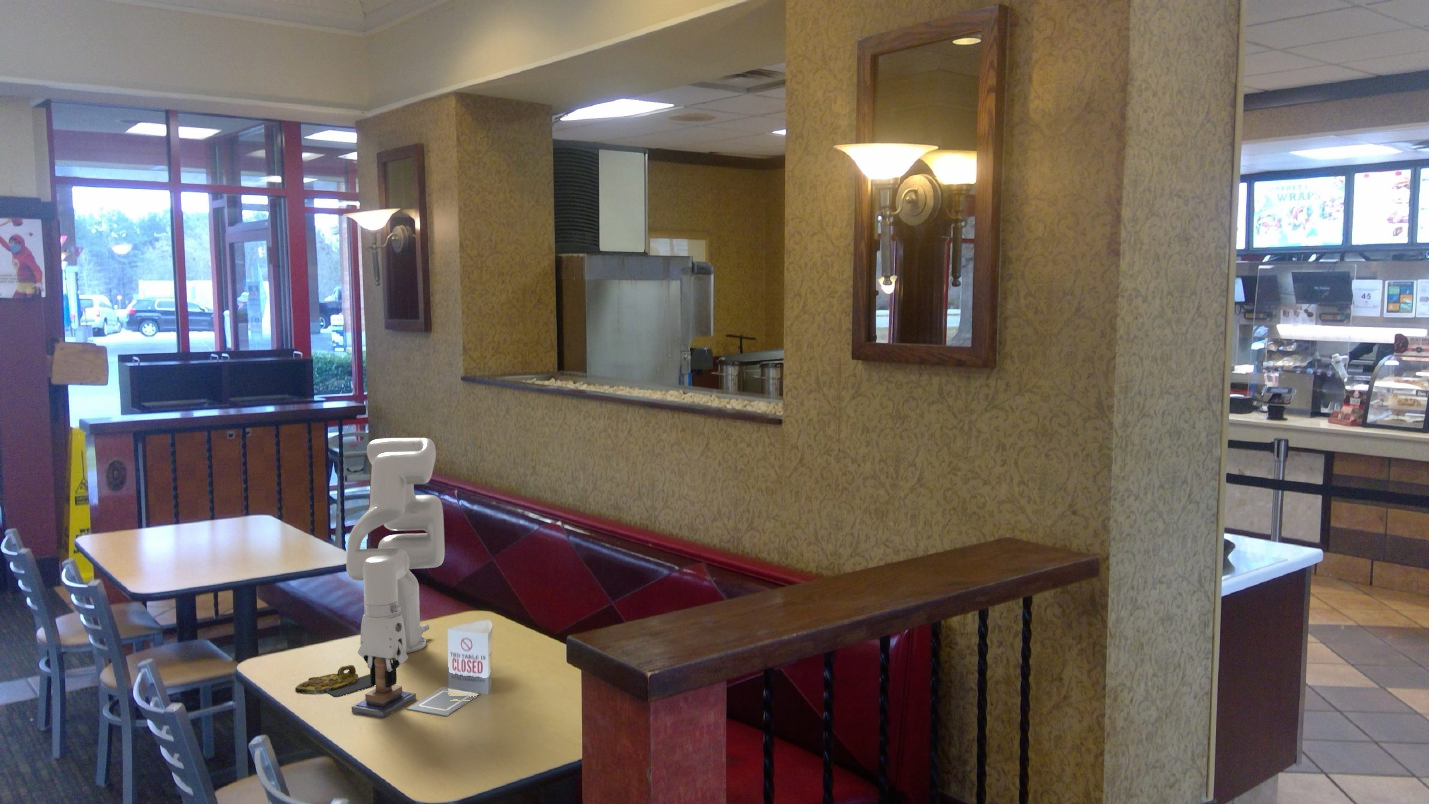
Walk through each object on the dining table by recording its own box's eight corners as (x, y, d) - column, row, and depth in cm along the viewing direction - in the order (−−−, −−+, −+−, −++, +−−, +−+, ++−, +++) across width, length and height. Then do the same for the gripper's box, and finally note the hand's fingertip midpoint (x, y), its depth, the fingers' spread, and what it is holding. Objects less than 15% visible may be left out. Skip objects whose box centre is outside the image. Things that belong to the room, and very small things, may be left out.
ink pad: (385, 693, 246) (385, 687, 246) (416, 698, 243) (415, 692, 243) (351, 712, 235) (351, 705, 235) (383, 718, 232) (383, 711, 231)
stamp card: (443, 688, 250) (443, 686, 249) (481, 694, 246) (480, 692, 246) (407, 709, 236) (407, 708, 236) (446, 716, 233) (446, 715, 233)
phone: (320, 689, 248) (376, 671, 259) (321, 692, 248) (376, 675, 259) (336, 696, 243) (391, 678, 254) (336, 700, 243) (391, 681, 255)
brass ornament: (300, 703, 243) (363, 688, 252) (300, 685, 242) (363, 671, 251) (291, 687, 251) (352, 673, 260) (290, 669, 250) (352, 656, 259)
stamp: (385, 692, 243) (383, 646, 241) (402, 695, 241) (400, 649, 240) (365, 703, 236) (363, 656, 235) (383, 706, 234) (381, 659, 233)
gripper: (420, 608, 237) (422, 683, 239) (363, 600, 243) (365, 674, 245) (400, 617, 230) (402, 695, 232) (341, 609, 236) (344, 685, 238)
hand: (383, 683), depth 238 cm, fingers closed on stamp, 3 cm apart
